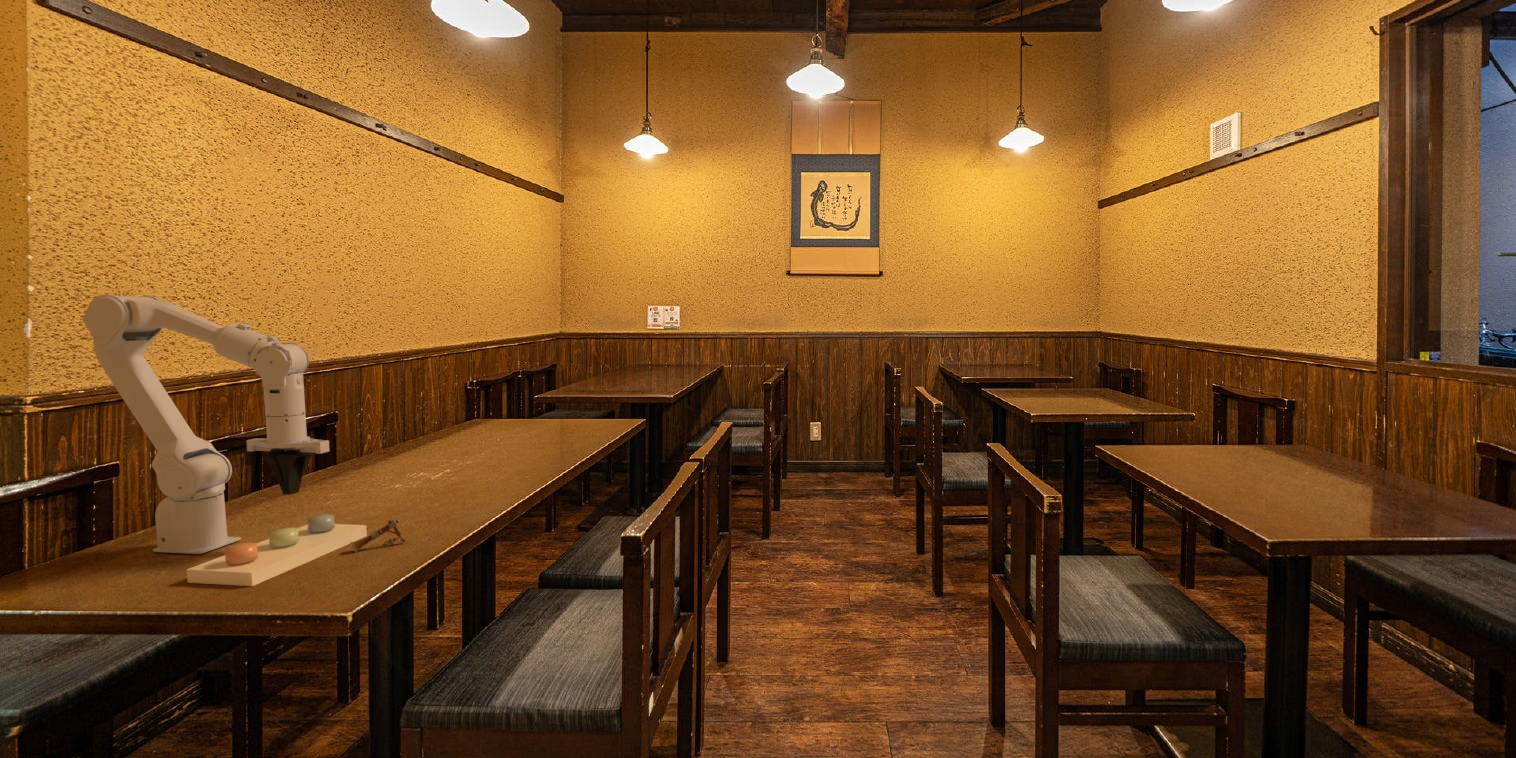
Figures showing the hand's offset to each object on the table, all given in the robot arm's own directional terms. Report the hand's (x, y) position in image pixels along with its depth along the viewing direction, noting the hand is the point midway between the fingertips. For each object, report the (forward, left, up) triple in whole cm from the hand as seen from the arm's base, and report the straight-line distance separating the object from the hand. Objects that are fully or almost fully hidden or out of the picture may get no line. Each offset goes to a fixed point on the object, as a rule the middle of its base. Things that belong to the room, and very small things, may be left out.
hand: (291, 493), depth 125 cm
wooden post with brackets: (+16, 0, -9) cm, 18 cm away
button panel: (+4, -6, -9) cm, 12 cm away
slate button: (+4, +2, -8) cm, 9 cm away
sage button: (+4, -6, -8) cm, 11 cm away
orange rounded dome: (+4, -14, -8) cm, 17 cm away
